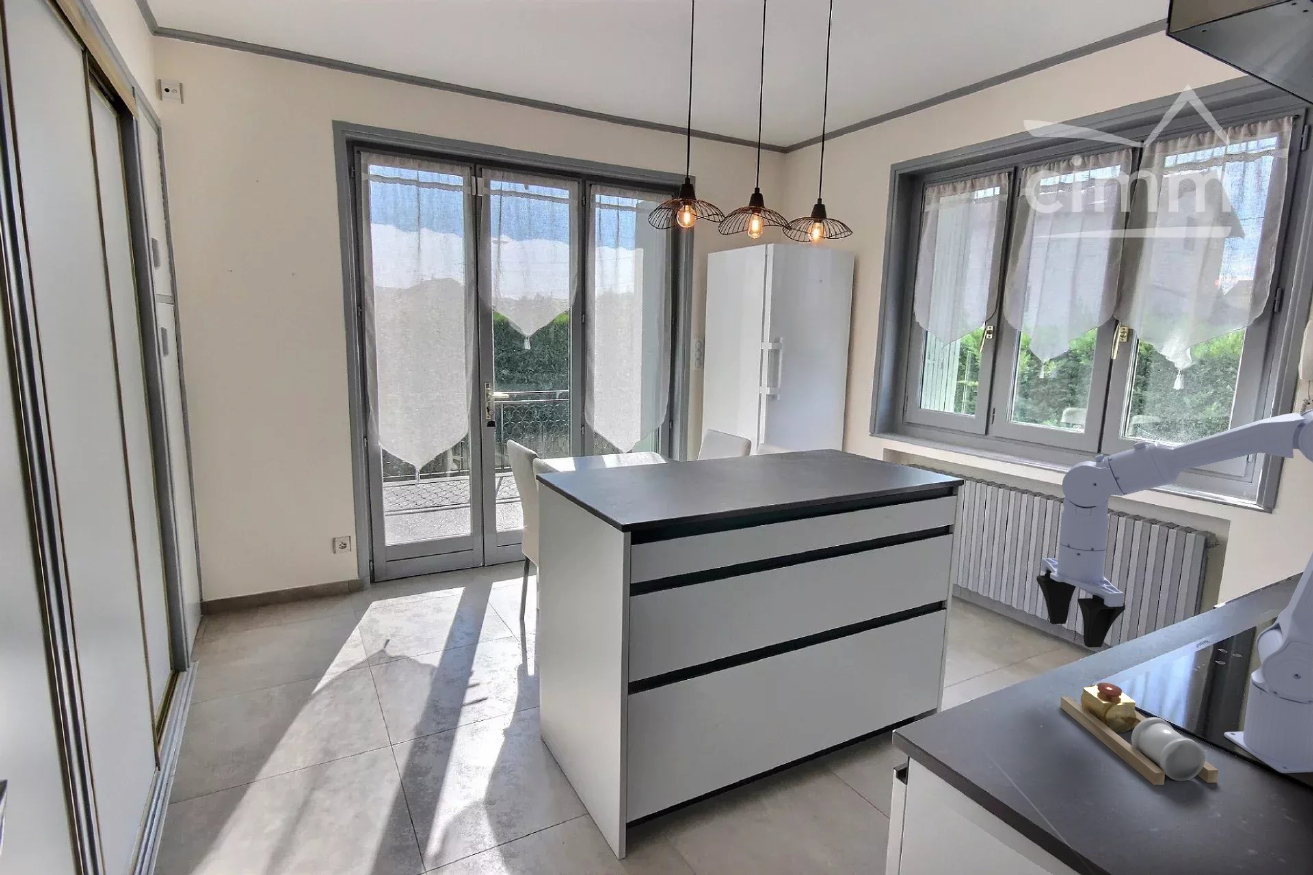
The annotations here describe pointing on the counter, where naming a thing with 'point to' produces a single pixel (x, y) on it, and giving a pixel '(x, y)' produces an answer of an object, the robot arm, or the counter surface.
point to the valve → (1110, 706)
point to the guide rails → (1126, 744)
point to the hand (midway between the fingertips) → (1074, 634)
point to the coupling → (1168, 749)
